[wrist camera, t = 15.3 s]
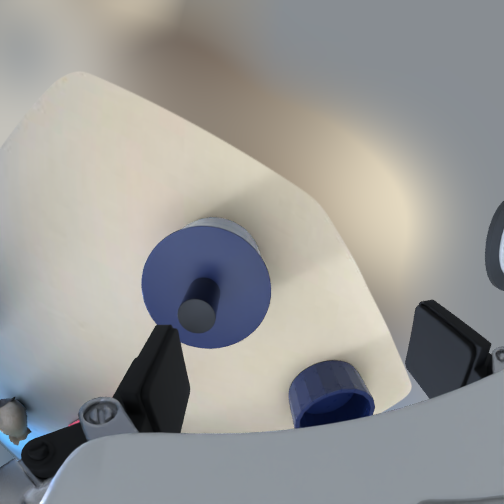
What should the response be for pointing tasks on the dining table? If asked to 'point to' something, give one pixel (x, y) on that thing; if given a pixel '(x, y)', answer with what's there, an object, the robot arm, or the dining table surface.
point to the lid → (206, 286)
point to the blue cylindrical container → (329, 395)
